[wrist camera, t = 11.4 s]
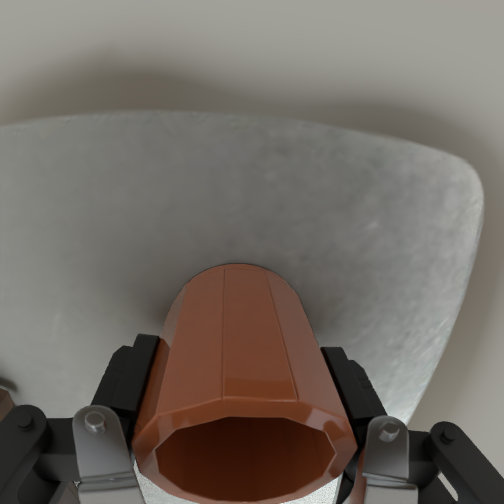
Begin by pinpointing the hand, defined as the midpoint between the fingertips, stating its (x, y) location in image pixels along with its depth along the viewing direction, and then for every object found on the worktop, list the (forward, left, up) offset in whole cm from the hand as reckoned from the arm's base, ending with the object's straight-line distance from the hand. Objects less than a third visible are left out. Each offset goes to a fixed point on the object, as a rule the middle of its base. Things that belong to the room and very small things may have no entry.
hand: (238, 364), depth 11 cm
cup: (0, 0, -3) cm, 3 cm away
